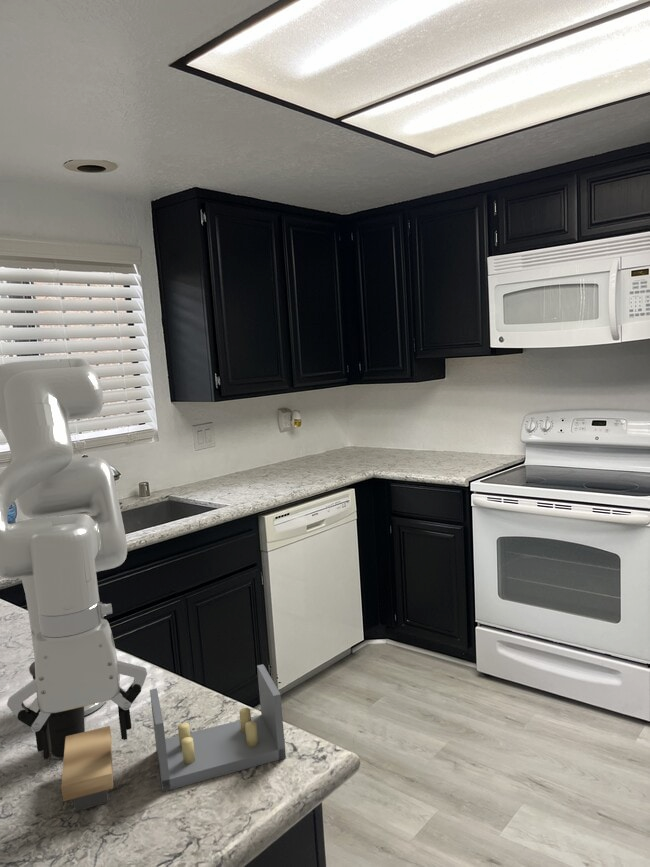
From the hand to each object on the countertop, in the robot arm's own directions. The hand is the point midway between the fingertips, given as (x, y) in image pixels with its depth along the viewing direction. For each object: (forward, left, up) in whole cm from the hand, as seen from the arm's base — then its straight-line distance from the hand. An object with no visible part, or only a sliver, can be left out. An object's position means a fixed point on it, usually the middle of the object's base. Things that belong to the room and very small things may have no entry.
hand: (86, 744), depth 87 cm
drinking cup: (-13, -4, -7) cm, 15 cm away
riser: (-1, 0, -7) cm, 7 cm away
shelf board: (-1, 0, -4) cm, 4 cm away
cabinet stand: (-1, +17, -7) cm, 19 cm away
